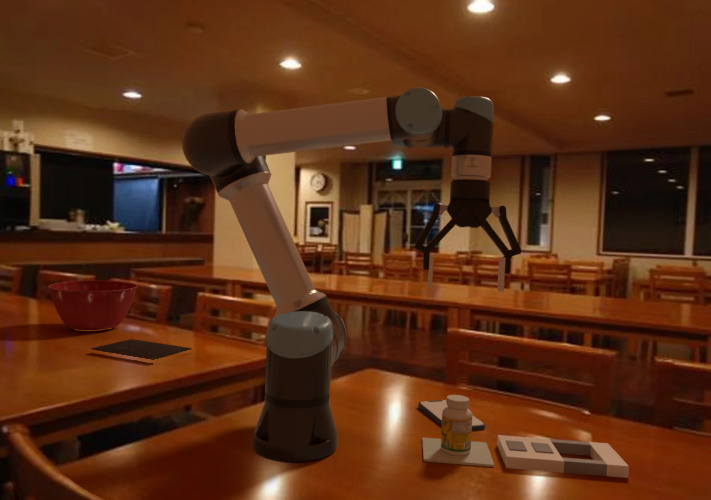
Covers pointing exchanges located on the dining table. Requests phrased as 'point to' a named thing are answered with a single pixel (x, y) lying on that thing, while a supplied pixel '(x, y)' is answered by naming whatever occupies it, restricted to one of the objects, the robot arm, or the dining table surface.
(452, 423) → the supplement bottle
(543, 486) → the dining table surface
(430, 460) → the rubber mat
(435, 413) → the phone case
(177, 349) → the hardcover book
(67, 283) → the mixing bowl
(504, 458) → the white fixture tray
